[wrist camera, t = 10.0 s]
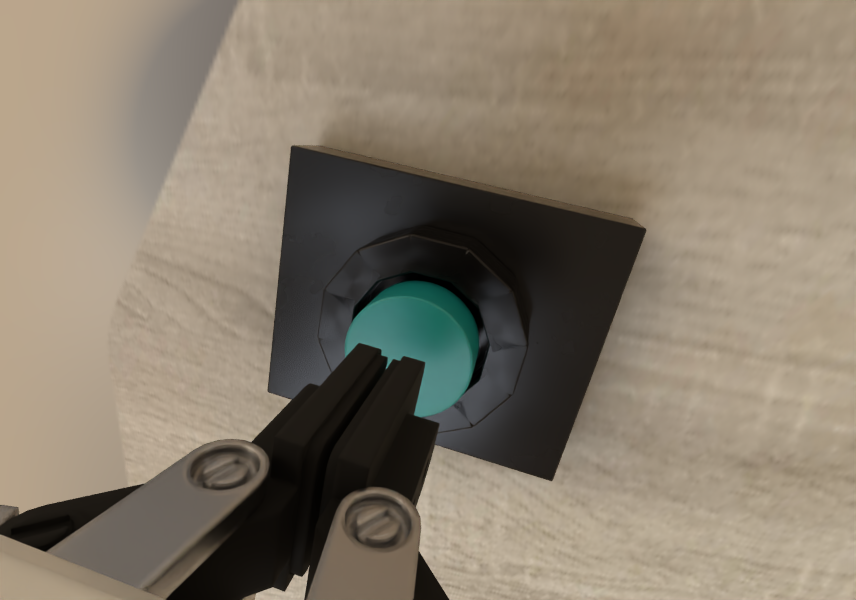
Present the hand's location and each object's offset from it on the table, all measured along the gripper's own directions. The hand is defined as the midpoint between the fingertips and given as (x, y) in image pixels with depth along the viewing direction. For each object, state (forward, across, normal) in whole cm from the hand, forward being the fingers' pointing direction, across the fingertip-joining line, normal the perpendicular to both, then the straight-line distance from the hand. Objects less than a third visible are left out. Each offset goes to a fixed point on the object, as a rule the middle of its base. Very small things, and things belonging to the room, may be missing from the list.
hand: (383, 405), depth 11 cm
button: (+5, 0, 0) cm, 5 cm away
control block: (+8, 0, 0) cm, 8 cm away
